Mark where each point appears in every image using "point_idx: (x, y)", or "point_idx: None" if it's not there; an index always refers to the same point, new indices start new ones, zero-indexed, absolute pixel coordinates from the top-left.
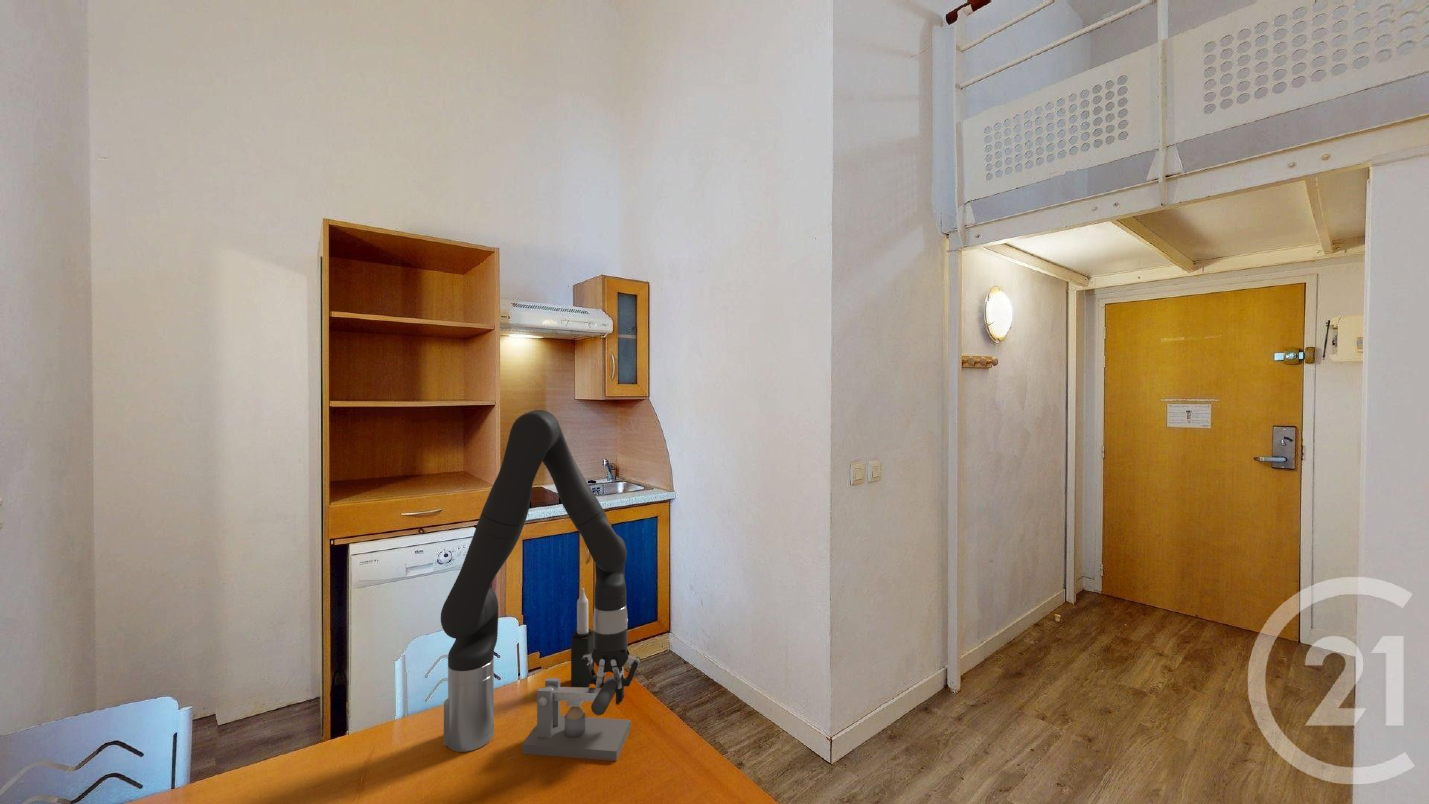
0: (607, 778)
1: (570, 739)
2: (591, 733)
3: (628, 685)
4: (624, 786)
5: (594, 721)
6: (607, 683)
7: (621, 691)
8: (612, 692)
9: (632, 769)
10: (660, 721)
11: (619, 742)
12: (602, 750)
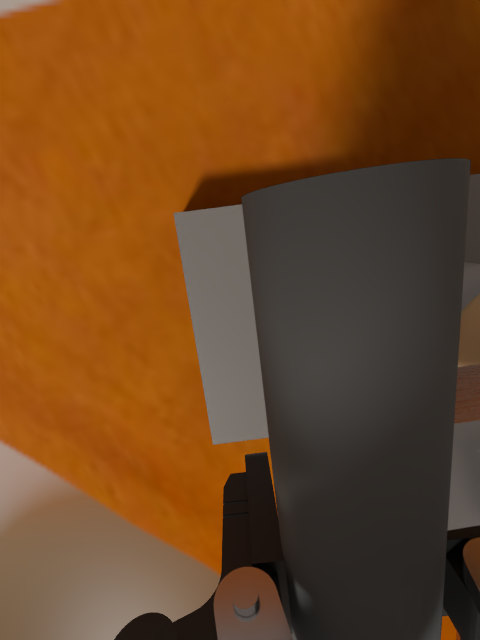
0: (166, 86)
1: None
2: None
3: (130, 631)
4: (62, 48)
5: None
6: (403, 607)
7: (229, 549)
8: (283, 489)
9: (85, 177)
10: (119, 487)
11: (189, 281)
12: None
